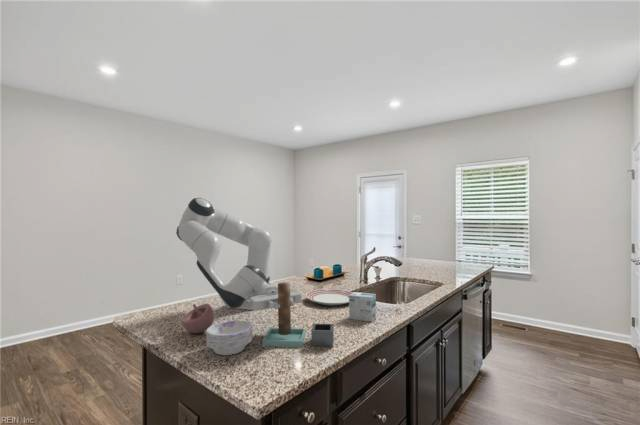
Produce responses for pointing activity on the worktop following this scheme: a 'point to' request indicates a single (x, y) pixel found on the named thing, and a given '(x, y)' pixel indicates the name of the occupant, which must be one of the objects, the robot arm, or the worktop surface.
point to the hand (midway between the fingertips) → (285, 305)
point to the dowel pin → (284, 309)
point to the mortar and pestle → (199, 318)
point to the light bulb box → (362, 306)
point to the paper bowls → (229, 337)
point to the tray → (284, 338)
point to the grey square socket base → (322, 335)
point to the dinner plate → (329, 296)
